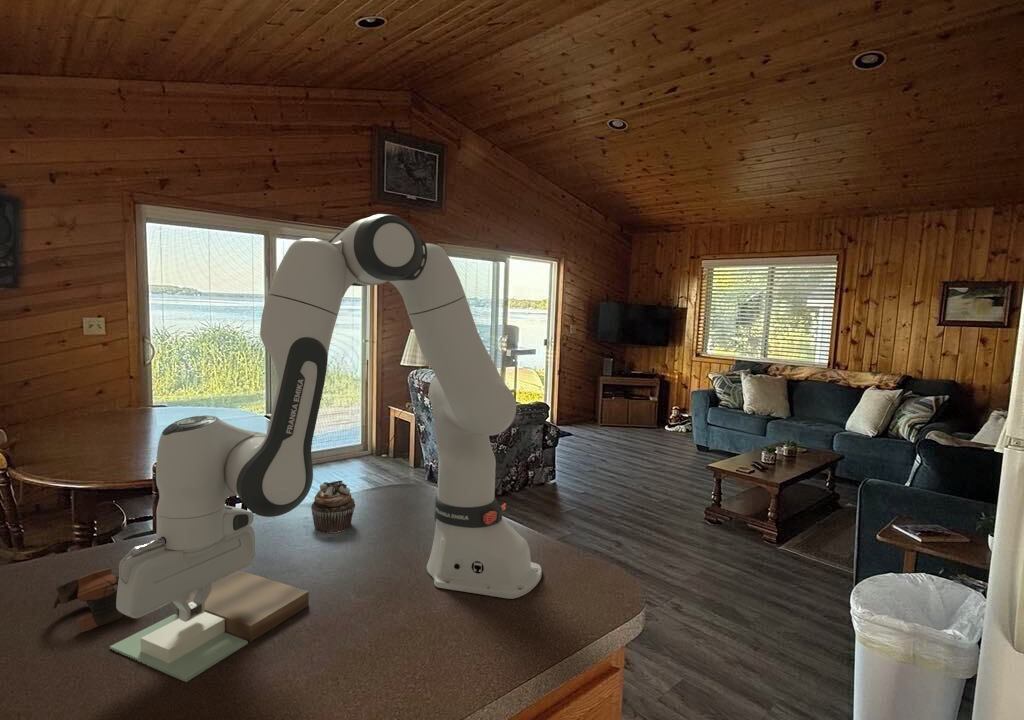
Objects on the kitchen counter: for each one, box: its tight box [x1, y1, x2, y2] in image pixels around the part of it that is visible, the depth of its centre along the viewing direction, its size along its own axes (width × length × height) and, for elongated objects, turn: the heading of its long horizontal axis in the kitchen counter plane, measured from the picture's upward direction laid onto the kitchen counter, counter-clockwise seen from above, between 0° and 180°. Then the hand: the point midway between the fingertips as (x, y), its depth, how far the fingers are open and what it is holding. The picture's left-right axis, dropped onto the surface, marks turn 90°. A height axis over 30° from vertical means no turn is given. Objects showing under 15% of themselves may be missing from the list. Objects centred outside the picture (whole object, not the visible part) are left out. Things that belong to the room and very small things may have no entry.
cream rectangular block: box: [141, 612, 225, 663], centre depth 86 cm, size 9×6×2 cm, turn 156°
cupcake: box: [310, 480, 356, 534], centre depth 132 cm, size 10×10×10 cm
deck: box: [177, 569, 310, 643], centre depth 95 cm, size 16×12×2 cm
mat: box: [109, 613, 249, 683], centre depth 85 cm, size 16×10×1 cm, turn 66°
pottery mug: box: [52, 567, 123, 632], centre depth 93 cm, size 12×10×8 cm
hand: (192, 616), depth 87 cm, fingers closed
